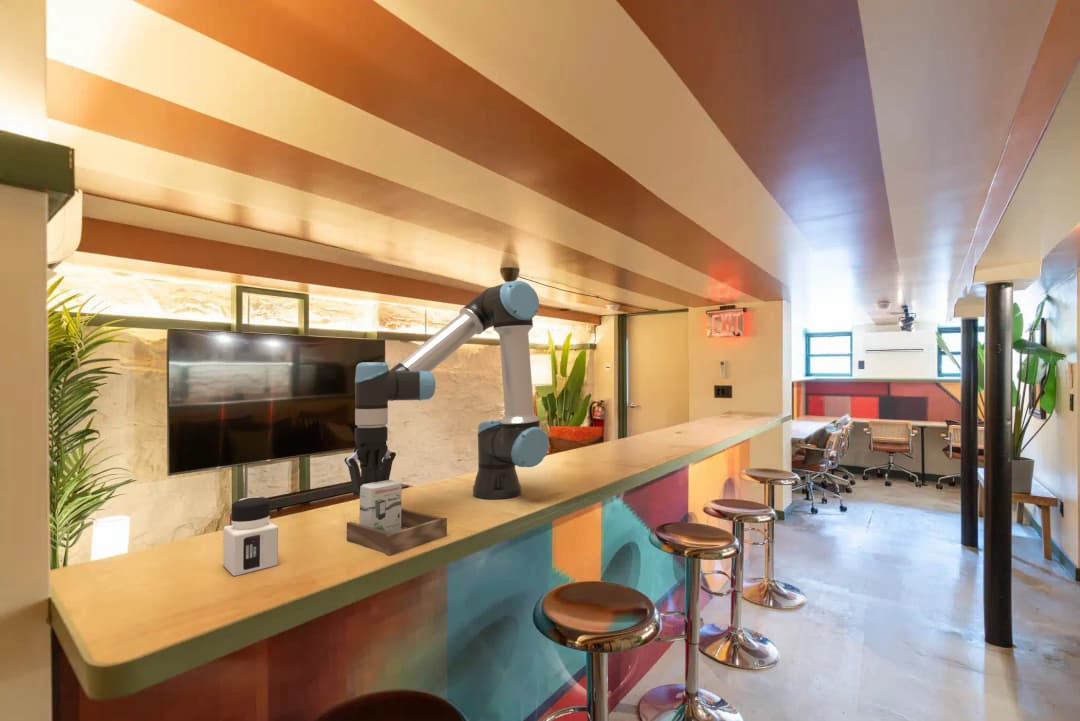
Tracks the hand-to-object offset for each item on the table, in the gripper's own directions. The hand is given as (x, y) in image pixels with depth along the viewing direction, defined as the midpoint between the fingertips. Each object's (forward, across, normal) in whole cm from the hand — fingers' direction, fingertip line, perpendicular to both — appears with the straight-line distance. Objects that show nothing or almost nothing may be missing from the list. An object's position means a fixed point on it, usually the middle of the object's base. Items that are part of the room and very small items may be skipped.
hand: (370, 524), depth 118 cm
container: (+2, +27, 0) cm, 27 cm away
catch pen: (+2, 0, +10) cm, 10 cm away
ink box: (+2, 0, +4) cm, 4 cm away
